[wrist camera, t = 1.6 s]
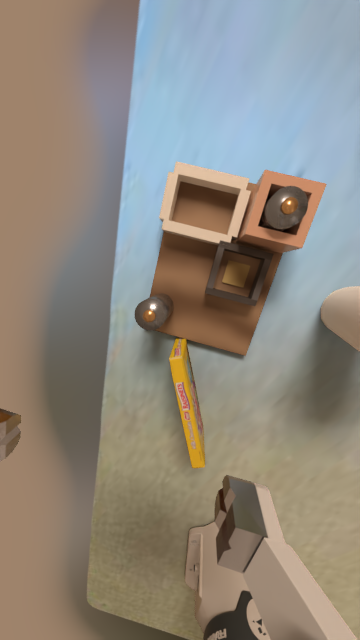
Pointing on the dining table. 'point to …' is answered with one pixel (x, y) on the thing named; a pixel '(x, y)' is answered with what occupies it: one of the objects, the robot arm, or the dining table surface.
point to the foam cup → (343, 314)
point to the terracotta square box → (258, 198)
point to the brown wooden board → (212, 274)
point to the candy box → (188, 401)
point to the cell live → (154, 311)
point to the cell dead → (284, 209)
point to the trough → (210, 181)
